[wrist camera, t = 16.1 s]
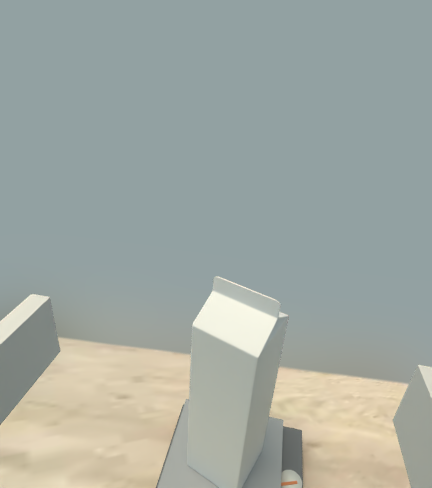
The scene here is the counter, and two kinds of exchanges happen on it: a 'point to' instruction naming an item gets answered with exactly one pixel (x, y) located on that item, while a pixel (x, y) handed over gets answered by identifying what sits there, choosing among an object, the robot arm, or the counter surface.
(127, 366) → the counter surface
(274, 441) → the kitchen scale
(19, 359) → the robot arm
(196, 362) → the milk
